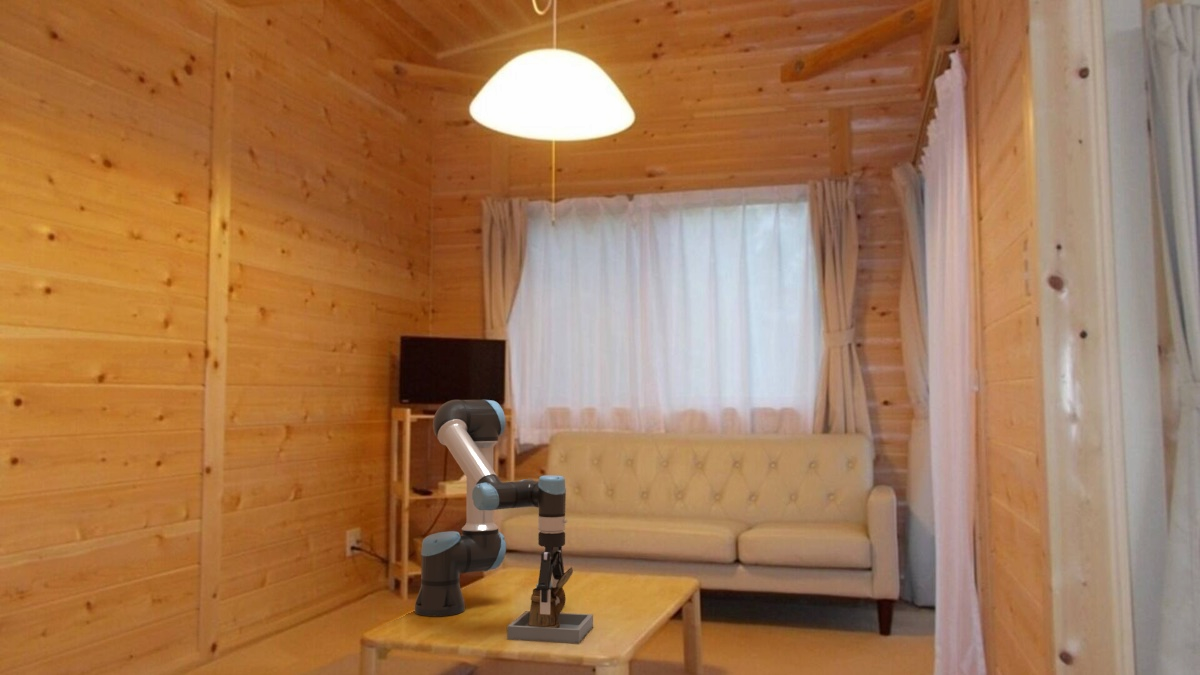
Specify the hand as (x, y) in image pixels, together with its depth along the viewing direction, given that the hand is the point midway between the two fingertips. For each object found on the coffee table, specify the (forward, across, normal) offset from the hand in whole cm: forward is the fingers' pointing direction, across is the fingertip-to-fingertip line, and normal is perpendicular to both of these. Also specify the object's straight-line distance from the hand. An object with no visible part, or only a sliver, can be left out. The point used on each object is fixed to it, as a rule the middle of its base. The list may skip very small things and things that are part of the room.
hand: (551, 608), depth 249 cm
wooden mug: (+6, 0, 0) cm, 6 cm away
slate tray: (+7, 0, 0) cm, 7 cm away
